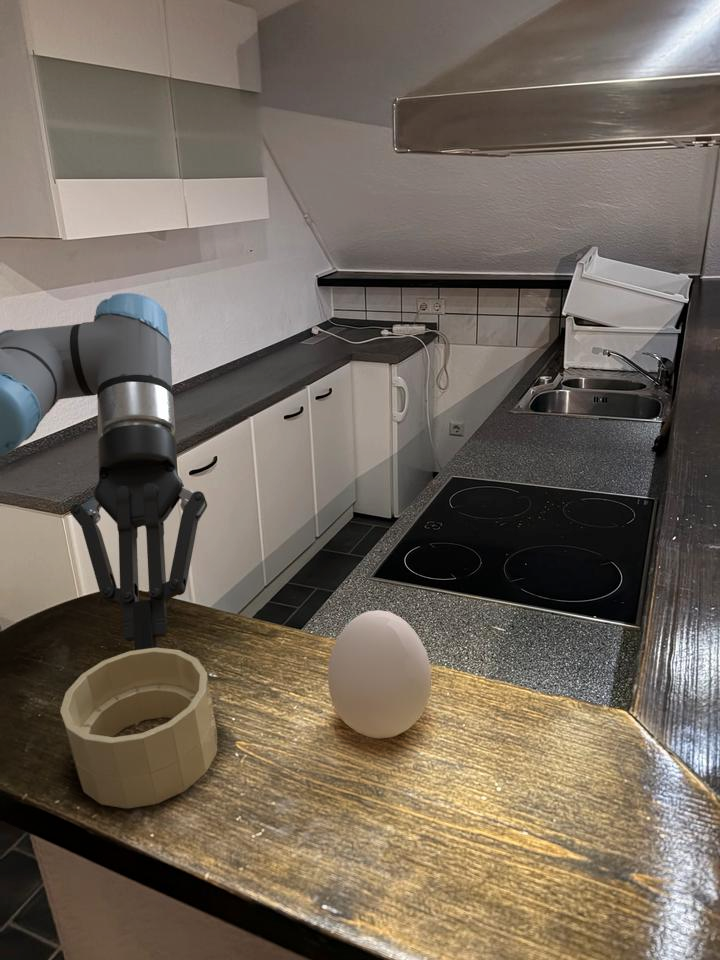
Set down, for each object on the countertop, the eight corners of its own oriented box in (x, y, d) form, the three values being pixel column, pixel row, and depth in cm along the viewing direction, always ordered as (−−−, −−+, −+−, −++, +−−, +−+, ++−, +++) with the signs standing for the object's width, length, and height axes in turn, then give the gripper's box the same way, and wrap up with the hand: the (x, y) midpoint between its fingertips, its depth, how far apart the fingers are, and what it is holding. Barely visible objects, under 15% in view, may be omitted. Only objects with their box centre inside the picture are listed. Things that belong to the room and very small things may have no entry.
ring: (69, 827, 58) (47, 752, 55) (93, 726, 68) (75, 658, 65) (217, 804, 59) (204, 729, 56) (219, 708, 69) (208, 640, 66)
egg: (395, 681, 71) (390, 576, 67) (453, 735, 65) (452, 622, 60) (314, 718, 67) (303, 609, 63) (366, 780, 61) (358, 663, 56)
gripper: (207, 446, 81) (224, 670, 73) (81, 458, 80) (84, 689, 71) (197, 414, 74) (215, 659, 66) (59, 428, 73) (59, 679, 64)
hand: (147, 674), depth 69 cm, fingers closed
